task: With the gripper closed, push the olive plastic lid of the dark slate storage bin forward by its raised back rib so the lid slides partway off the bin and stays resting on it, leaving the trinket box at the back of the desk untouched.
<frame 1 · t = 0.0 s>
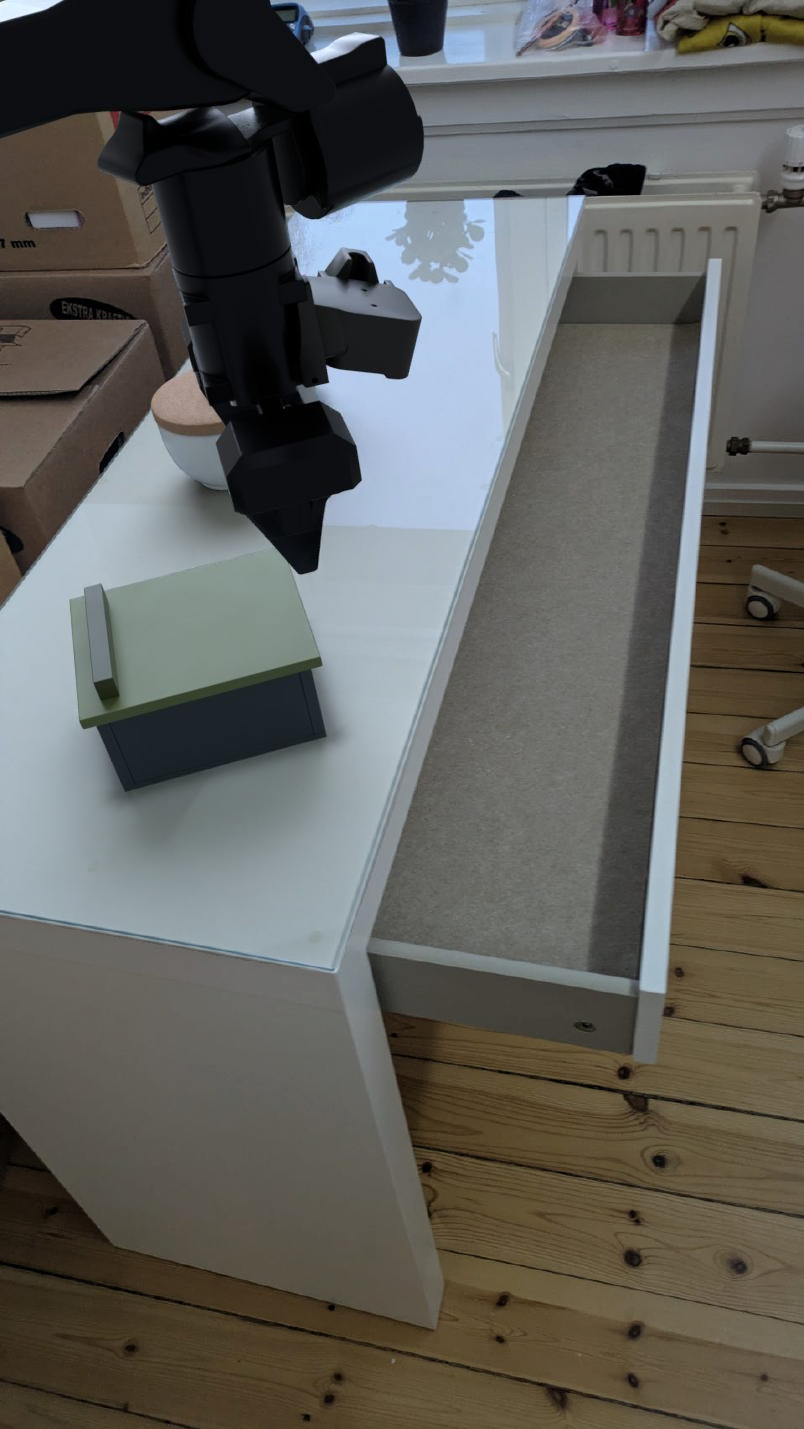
hand: (291, 526, 63), 16 cm above the table, tool pointing down, fingers open, 9 cm apart
trinket box: (233, 473, 98), on the table
bin lid: (191, 635, 71), point 6 cm above the table, touching bin
bin: (214, 706, 76), on the table
mug: (276, 402, 106), on the table
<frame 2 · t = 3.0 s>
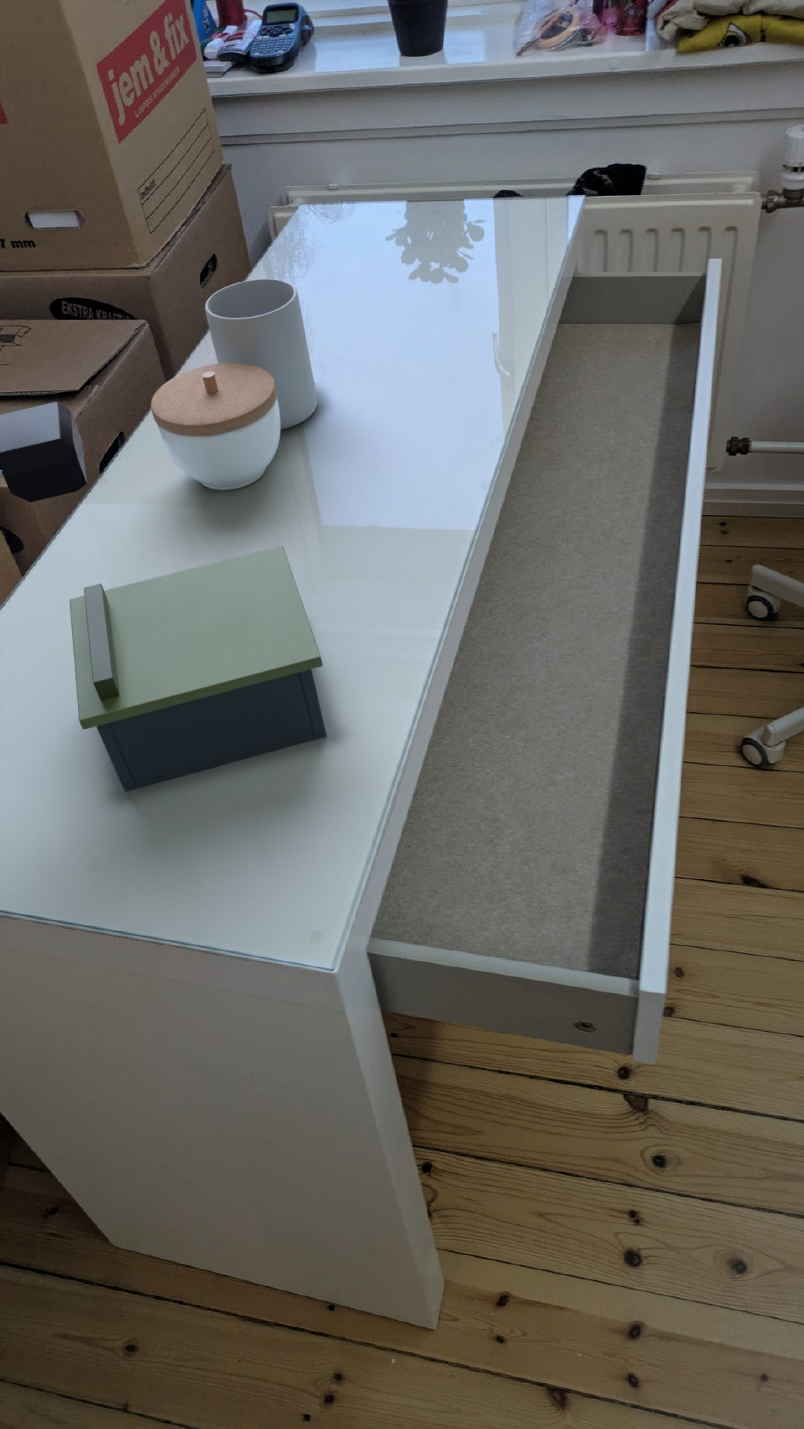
nothing on the table moved.
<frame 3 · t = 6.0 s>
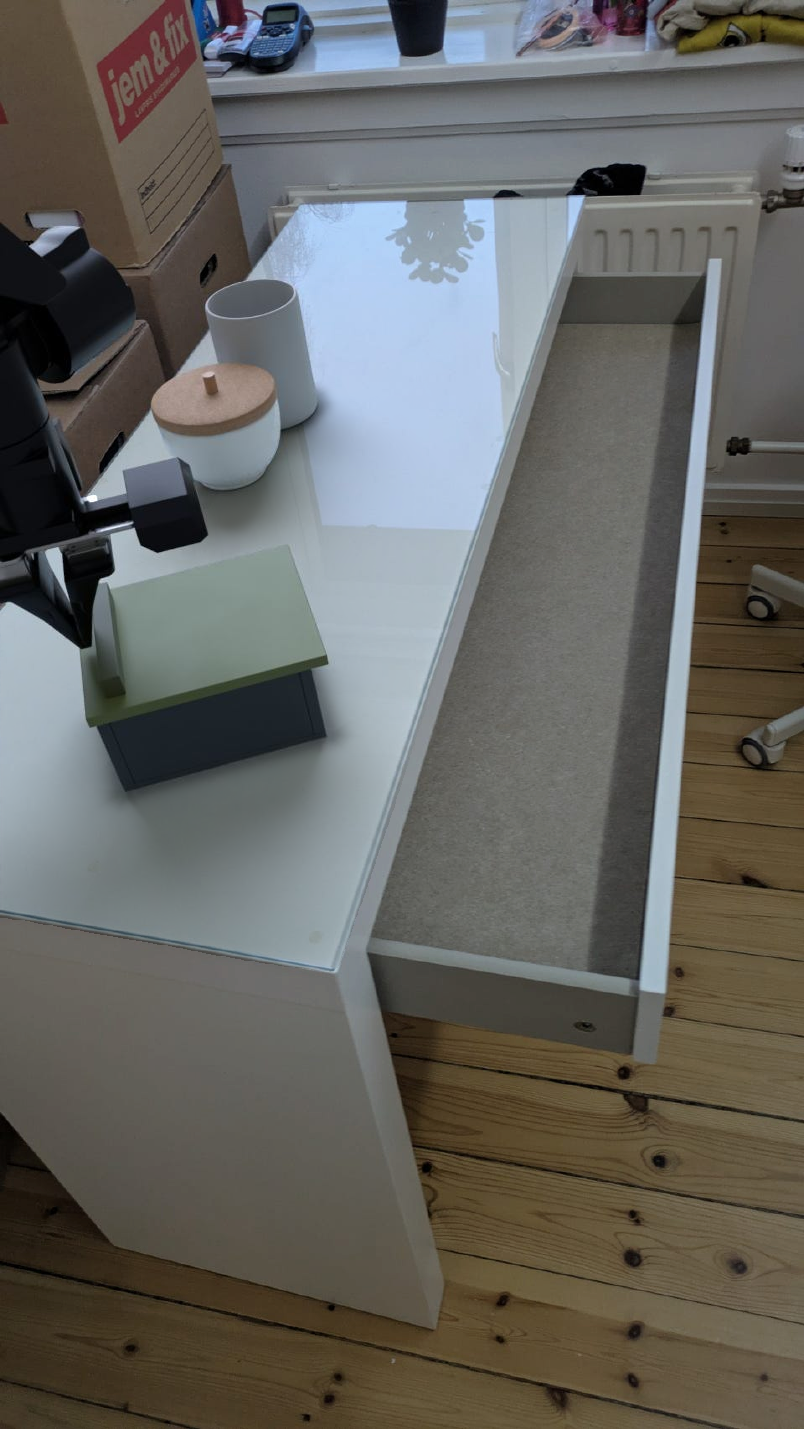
hand: (86, 644, 70), 8 cm above the table, tool pointing down, fingers closed
bin lid: (197, 634, 71), point 6 cm above the table, touching bin, gripper
everything else where it was.
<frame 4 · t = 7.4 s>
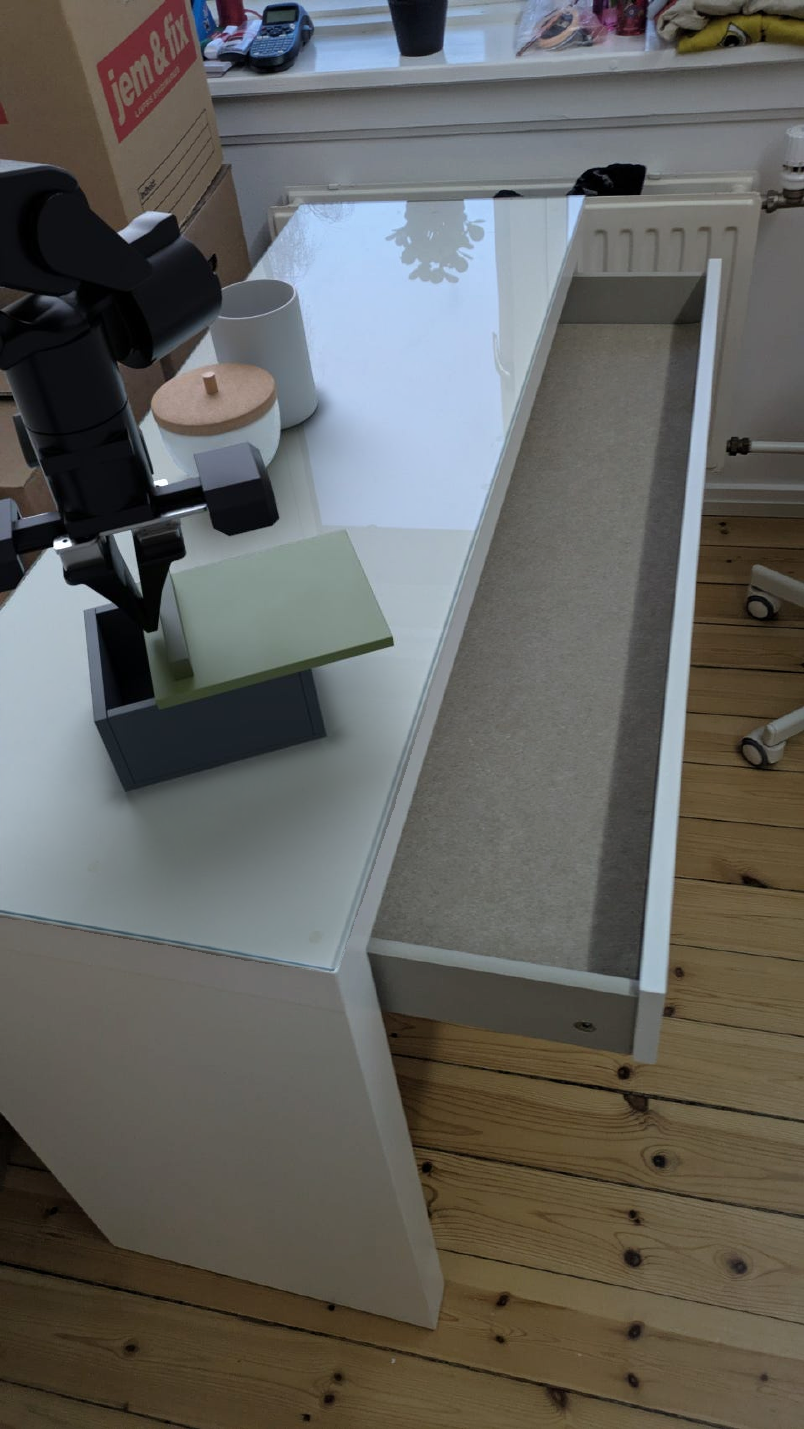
hand: (152, 628, 70), 8 cm above the table, tool pointing down, fingers closed
bin lid: (259, 617, 72), point 6 cm above the table, touching bin, gripper
everything else where it was.
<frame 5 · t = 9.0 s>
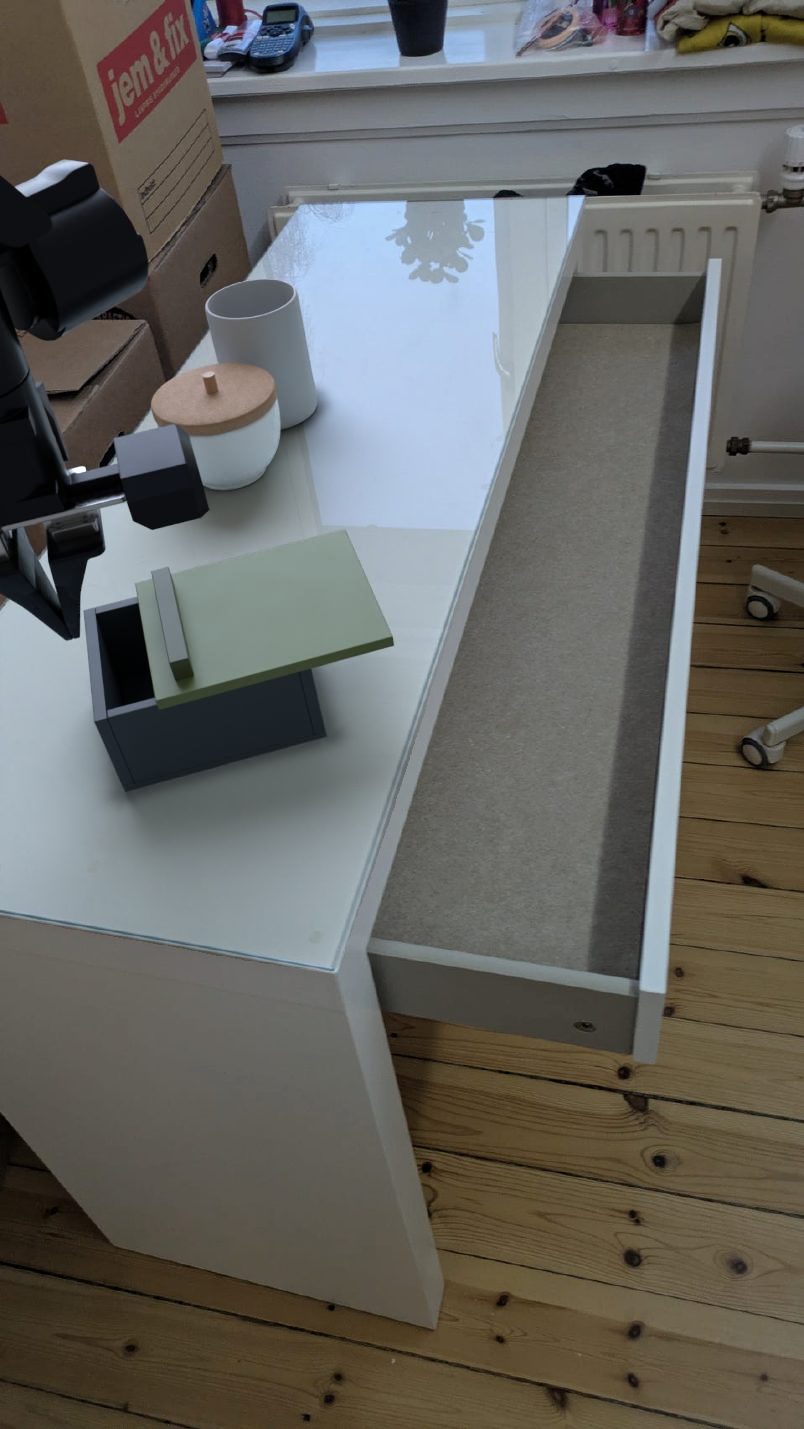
hand: (73, 634, 63), 13 cm above the table, tool pointing down, fingers closed
bin lid: (259, 617, 72), point 6 cm above the table, touching bin
everything else where it was.
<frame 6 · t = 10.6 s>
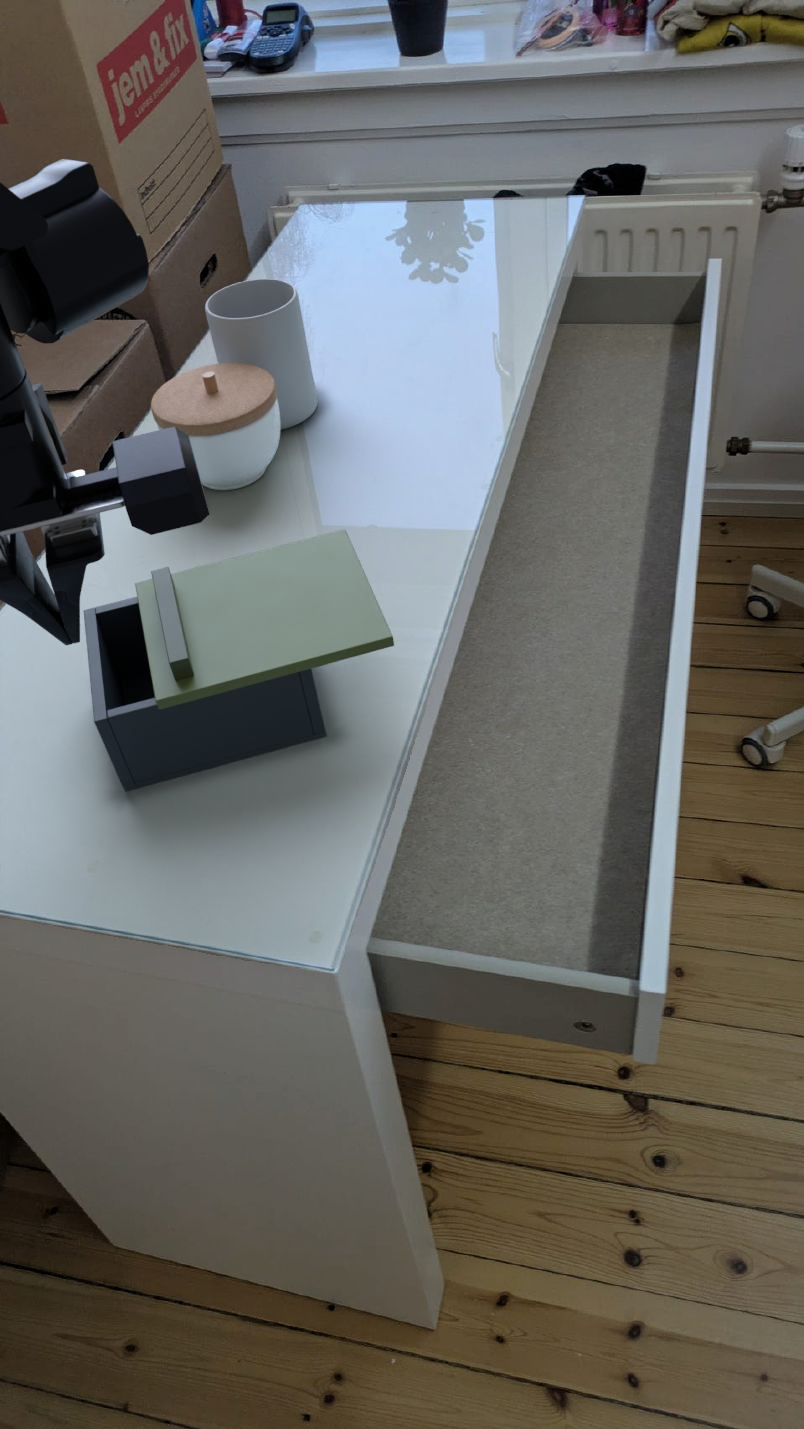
hand: (72, 639, 62), 13 cm above the table, tool pointing down, fingers closed
nothing on the table moved.
at the end: bin lid 0.9 cm from the target spot on the bin, point 6.5 cm above the bin's base; bin lid tilted 0°; trinket box moved 0.2 cm from its start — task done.
